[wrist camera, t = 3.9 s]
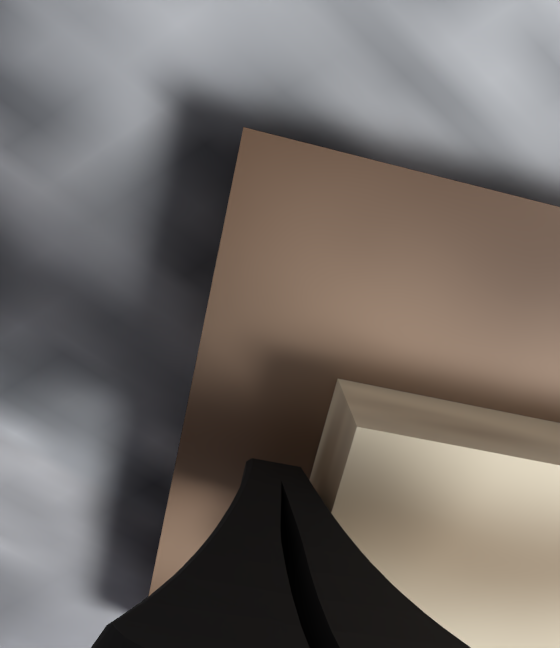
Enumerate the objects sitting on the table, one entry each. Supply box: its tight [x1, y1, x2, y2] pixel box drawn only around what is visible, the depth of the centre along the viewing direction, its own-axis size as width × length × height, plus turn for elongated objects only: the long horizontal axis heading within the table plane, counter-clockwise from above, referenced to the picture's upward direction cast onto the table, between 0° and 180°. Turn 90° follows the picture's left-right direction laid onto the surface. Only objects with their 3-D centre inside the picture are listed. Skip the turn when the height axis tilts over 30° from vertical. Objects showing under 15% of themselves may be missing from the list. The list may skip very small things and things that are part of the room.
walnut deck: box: [148, 127, 560, 597], centre depth 15 cm, size 16×13×2 cm
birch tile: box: [309, 379, 560, 648], centre depth 13 cm, size 6×9×2 cm, turn 77°
